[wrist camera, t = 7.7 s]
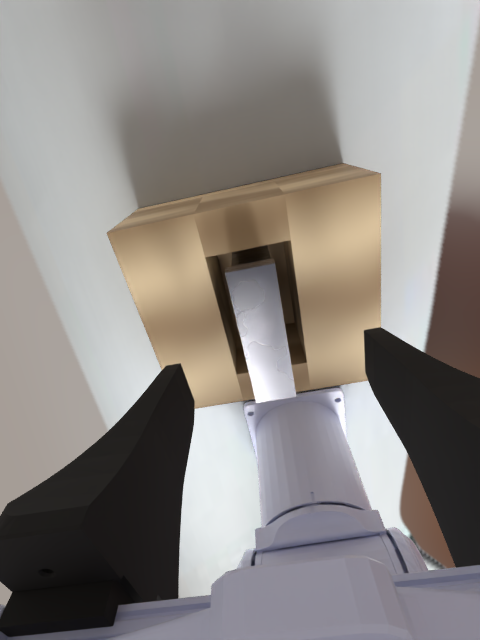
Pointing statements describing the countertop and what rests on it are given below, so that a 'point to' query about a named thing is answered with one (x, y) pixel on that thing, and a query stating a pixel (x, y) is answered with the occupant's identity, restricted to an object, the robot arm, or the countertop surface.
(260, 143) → the countertop surface
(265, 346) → the grey flat piece
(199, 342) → the slotted wooden block
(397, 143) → the countertop surface
